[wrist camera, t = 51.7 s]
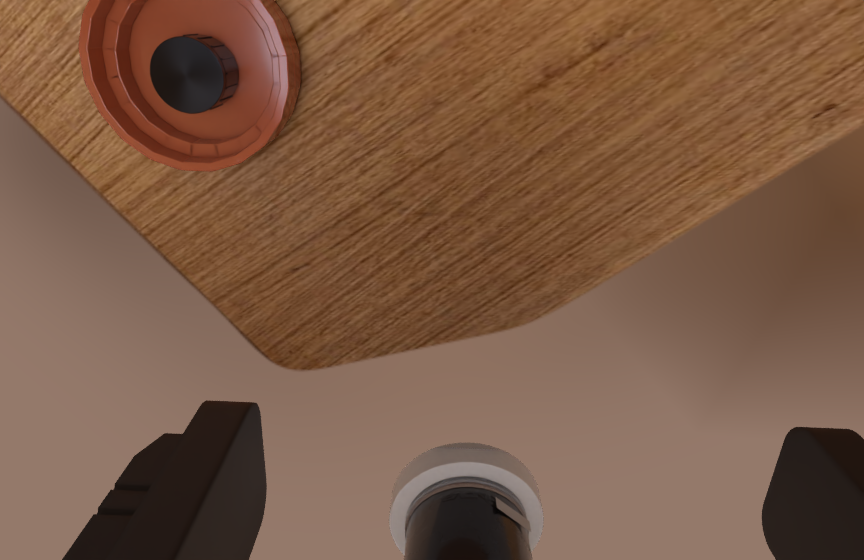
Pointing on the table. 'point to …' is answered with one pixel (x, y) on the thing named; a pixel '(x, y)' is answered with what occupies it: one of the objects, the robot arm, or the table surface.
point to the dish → (167, 127)
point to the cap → (194, 73)
